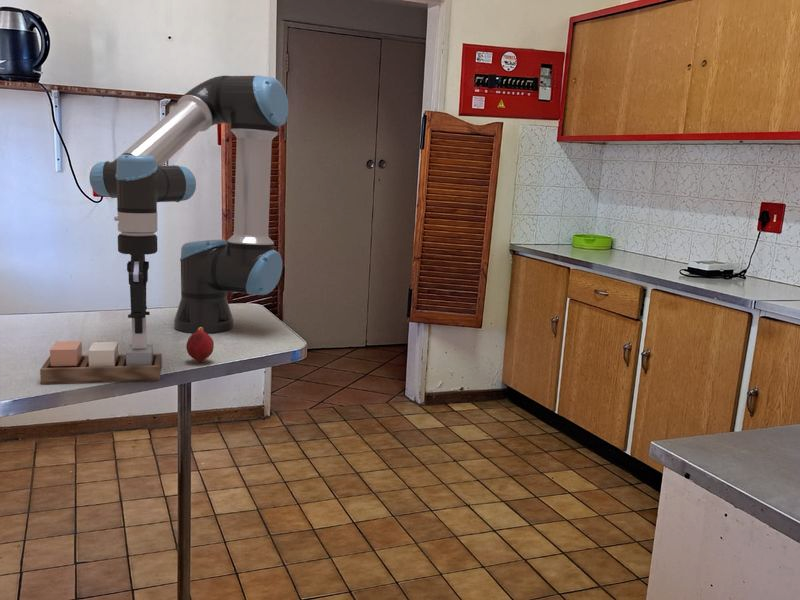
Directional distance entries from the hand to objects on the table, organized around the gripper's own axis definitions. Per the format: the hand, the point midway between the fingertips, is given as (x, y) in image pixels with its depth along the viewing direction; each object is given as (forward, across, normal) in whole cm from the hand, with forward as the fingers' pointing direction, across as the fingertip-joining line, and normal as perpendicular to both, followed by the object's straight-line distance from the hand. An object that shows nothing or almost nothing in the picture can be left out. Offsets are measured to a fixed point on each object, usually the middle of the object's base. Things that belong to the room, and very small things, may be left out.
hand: (139, 347), depth 152 cm
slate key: (+4, 0, 0) cm, 4 cm away
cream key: (+3, 0, -7) cm, 7 cm away
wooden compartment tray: (+6, 0, -7) cm, 9 cm away
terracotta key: (+3, 0, -14) cm, 14 cm away
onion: (+6, -8, +12) cm, 16 cm away
